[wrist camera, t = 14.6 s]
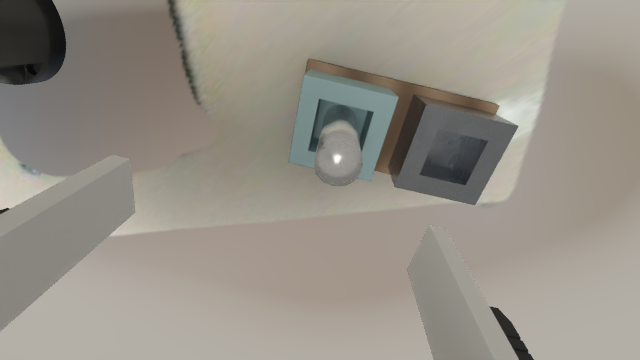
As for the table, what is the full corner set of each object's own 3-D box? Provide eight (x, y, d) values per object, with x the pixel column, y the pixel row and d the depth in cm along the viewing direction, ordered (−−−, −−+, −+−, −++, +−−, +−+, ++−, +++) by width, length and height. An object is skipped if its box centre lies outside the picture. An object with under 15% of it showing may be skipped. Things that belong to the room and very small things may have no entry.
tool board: (292, 147, 41) (290, 151, 39) (309, 58, 35) (307, 59, 34) (453, 184, 42) (457, 189, 40) (493, 103, 36) (499, 105, 35)
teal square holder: (295, 145, 39) (288, 162, 34) (310, 69, 35) (304, 74, 29) (366, 161, 39) (370, 181, 34) (390, 88, 35) (398, 97, 29)
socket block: (387, 166, 39) (394, 186, 34) (413, 94, 35) (426, 104, 30) (457, 182, 40) (474, 205, 34) (491, 112, 35) (518, 126, 30)
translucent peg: (321, 131, 37) (309, 180, 24) (327, 101, 35) (319, 136, 23) (351, 138, 37) (355, 190, 24) (359, 108, 35) (368, 147, 23)
